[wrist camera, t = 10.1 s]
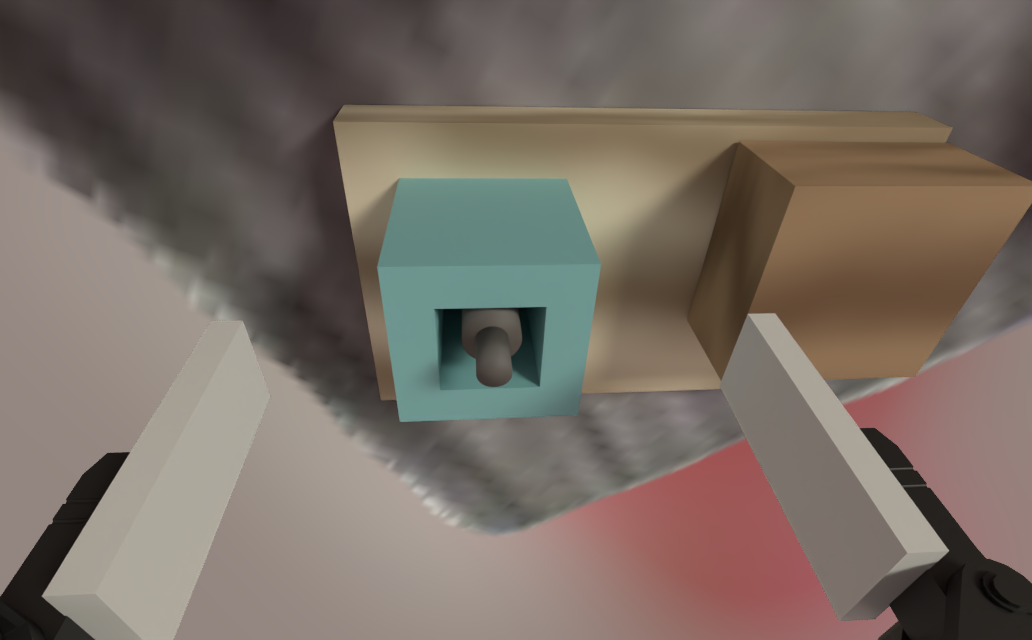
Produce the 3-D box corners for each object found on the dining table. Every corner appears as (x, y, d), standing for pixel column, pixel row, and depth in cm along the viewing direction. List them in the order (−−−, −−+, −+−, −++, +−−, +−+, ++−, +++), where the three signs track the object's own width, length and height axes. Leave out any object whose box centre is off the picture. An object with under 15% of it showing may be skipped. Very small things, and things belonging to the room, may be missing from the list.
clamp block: (738, 141, 19) (795, 186, 15) (948, 142, 19) (1043, 186, 16) (687, 320, 23) (721, 382, 20) (855, 316, 24) (915, 376, 21)
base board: (343, 104, 19) (263, 227, 11) (915, 112, 21) (1174, 221, 13) (385, 371, 27) (355, 549, 19) (797, 359, 29) (917, 517, 21)
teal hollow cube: (399, 178, 19) (377, 266, 14) (566, 178, 19) (601, 264, 14) (413, 314, 22) (400, 421, 17) (553, 311, 23) (578, 415, 18)
